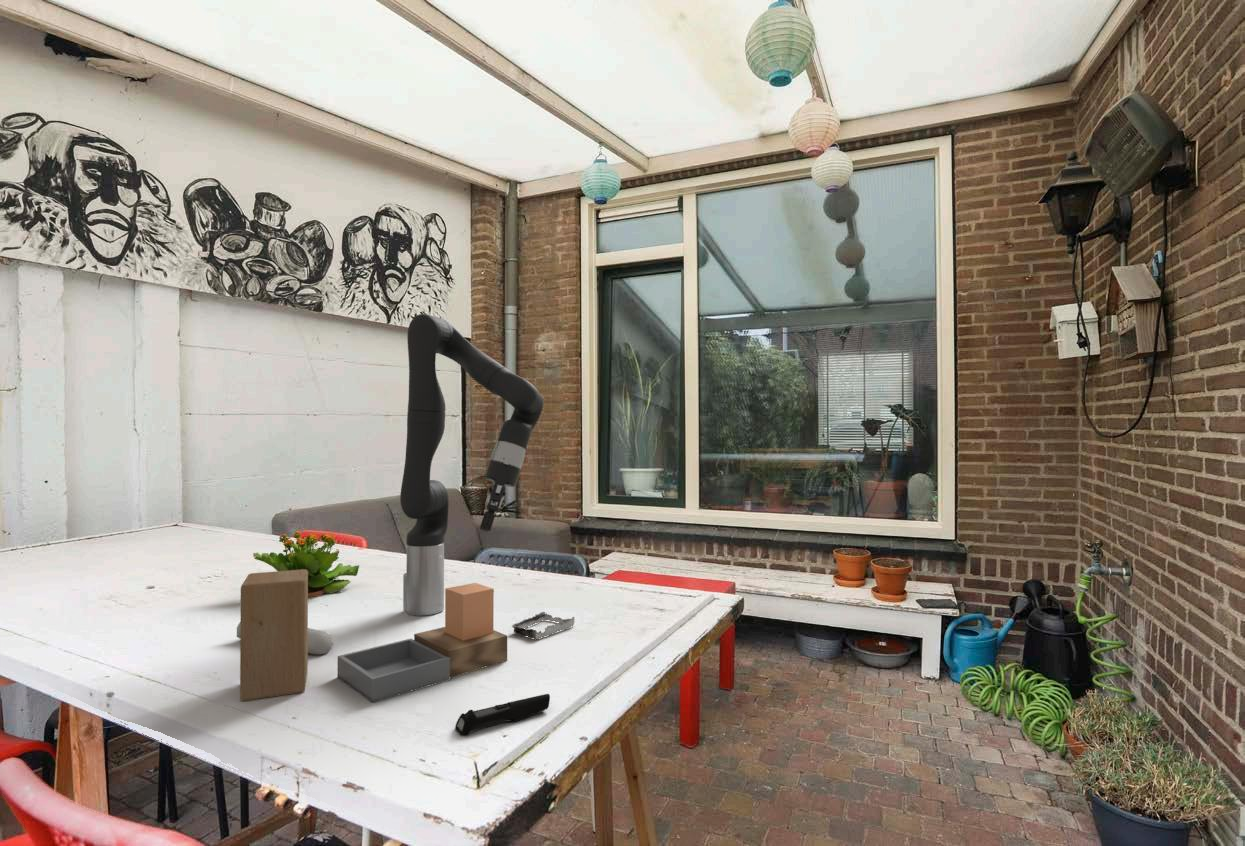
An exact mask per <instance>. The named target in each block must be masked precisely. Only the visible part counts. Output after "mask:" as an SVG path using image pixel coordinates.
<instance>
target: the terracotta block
mask: <svg viewBox="0 0 1245 846" xmlns="http://www.w3.org/2000/svg"><path fill="white" fill-rule="evenodd" d="M494 589H495V588H493V587H489V586H487V585H483V584H480V583H477V582H472V583H467V584H461V585H457V586H451V587H446V588H445V587H444V614H445V615H444V616H445V618H444V620H445V621H444V625H445V626H444V627H445V633H447V634H450V635H452V636H454V637H456V638H458V639H461V640H463V641H464V640H467V639H471V638H475V637H479V636H483V635H487V634H491V633H493V630H494V608H495V607H494V605H495V604H494V599H495V598H494V594H495V593H494Z"/></svg>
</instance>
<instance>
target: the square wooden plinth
mask: <svg viewBox="0 0 1245 846" xmlns="http://www.w3.org/2000/svg"><path fill="white" fill-rule="evenodd" d="M413 636H414V637H413V640H415V641H417V642H419V643H421V644H423V645H425V646H427V647H429V648H431V649H433V650H435V651H437V652H439V653H441V654H443V655H445V656H447V657H449V658H450V678H454V677H457V676H460V675H464V674H467V673H470V672H473V670H474V671H477V670H480V669H483V668H482V667H484V668H486V667H485V666H487V667H490V666H489V665H491V666H494V665H497V664H500V663H499V662H501V663H503V662H502V661H504V662H507V661H508V635H506V634H504V633H502V632H500V631H497V630H494V629H493V633H491V634H487V635H483V636H479V637H475V638H471V639H467V640H464V641H463V640H461V639H458V638H456V637H454V636H452V635H450V634H447V633H445V626H443V627H438V628H434V629H430V630H427V631H422V632H421V631H420V632H417V633H414V634H413ZM506 660H507V661H506ZM496 663H497V664H496ZM493 664H494V665H493ZM479 668H480V669H479ZM476 669H477V670H476ZM466 672H467V673H466ZM463 673H464V674H463ZM453 676H454V677H453Z"/></svg>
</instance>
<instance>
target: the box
mask: <svg viewBox="0 0 1245 846" xmlns="http://www.w3.org/2000/svg"><path fill="white" fill-rule="evenodd" d="M337 679H340V681H342V682H344V684H346V685H347V686H349V687H350V688H351V689H353V690H354V691H356V692H357V693H359V694H360V695H361V696H362V697H364V698H365V699H366V700H368V701H369V702H370V703H372V704H373V703H376V702H379V701H383V700H386V698H387V699H389V697H390V698H393V697H397V696H400V695H403V694H406V692H407V693H409V691H410V692H412V691H411V690H413V691H415V689H417V690H419V688H420V689H423V688H427V687H429V686H428V685H430V686H433V685H436V684H439V682H440V683H443V682H445V681H450V680H449V679H451V677H450V658H449V657H447V656H445V655H443V654H441V653H439V652H437V651H435V650H433V649H431V648H429V647H427V646H425V645H423V644H421V643H419V642H417V641H415V640H414V638H407V639H403V640H399V641H394V642H391V643H386V644H382V645H377V646H373V647H369V648H365V649H360V650H357V651H352V652H348V653H344V654H339V655H337ZM442 681H443V682H442ZM435 683H436V684H435ZM432 684H433V685H432ZM426 686H427V687H426ZM422 687H423V688H422ZM402 693H403V694H402ZM399 694H400V695H399ZM396 695H397V696H396Z"/></svg>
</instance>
